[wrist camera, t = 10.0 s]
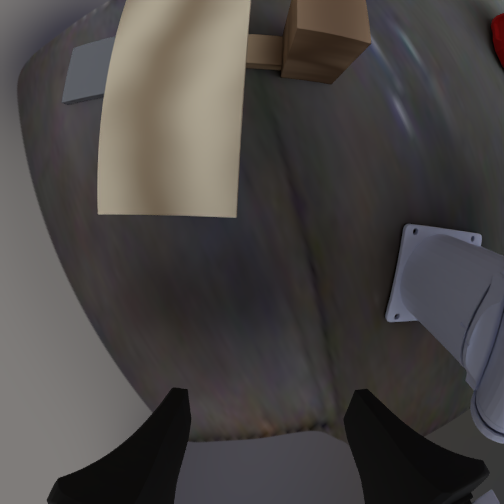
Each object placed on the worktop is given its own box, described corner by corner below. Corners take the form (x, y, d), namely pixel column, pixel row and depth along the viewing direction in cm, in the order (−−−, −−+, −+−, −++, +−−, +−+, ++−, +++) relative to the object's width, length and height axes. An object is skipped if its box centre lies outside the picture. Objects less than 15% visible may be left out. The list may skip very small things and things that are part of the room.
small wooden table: (252, 3, 14) (253, -28, 10) (238, 208, 18) (236, 217, 14) (149, 10, 13) (131, -15, 10) (125, 206, 18) (97, 214, 14)
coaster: (133, 41, 15) (126, 34, 13) (122, 96, 16) (114, 91, 15) (81, 53, 15) (73, 48, 13) (71, 105, 16) (61, 102, 15)
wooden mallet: (330, 44, 15) (364, -6, 8) (331, 84, 16) (371, 43, 9) (129, 43, 14) (86, 2, 8) (122, 82, 15) (70, 50, 9)
